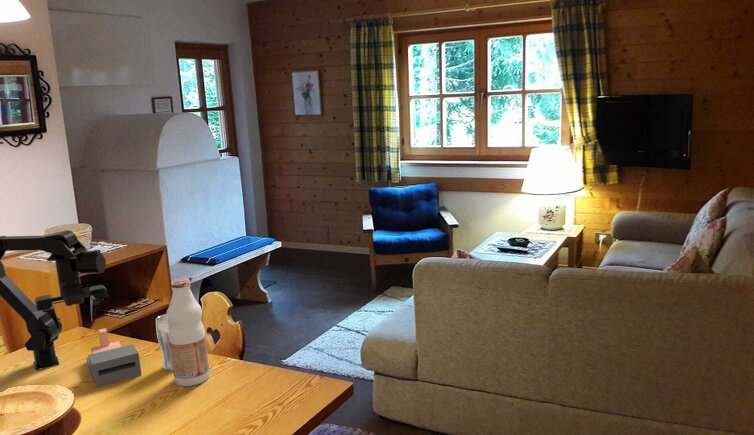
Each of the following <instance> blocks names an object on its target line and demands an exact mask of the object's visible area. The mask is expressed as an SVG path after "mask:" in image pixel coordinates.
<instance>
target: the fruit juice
mask: <svg viewBox="0 0 754 435" xmlns="http://www.w3.org/2000/svg"><path fill="white" fill-rule="evenodd" d="M170 287H171V290H172V294H171V298H170V299H171V300H170V303H169V306H168V308H167V310H166V314H167V320H168V322H169V325H170V328H169V343H170V350H171V358H172V366H173V371H172V373H173V380H174V382H175V384H176V385H177V386H180V387H192V386H196V385H200V384H202V383H204V382H206V381H207V380H208V379H209V378H210V364H209V356H208V349H207V348H208V347H207V340H206V333H205V330H206V329H205V326H204V324H203V322H202V316H203V310H202V306H201V305H200V303H198V301H197V300H196V298H195V296H194V294H193V292H192V290H191V281H190V279H188V278H187V279H186V278H185V279H182V278H181V279H177V280H174V281H171V283H170Z"/></svg>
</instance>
